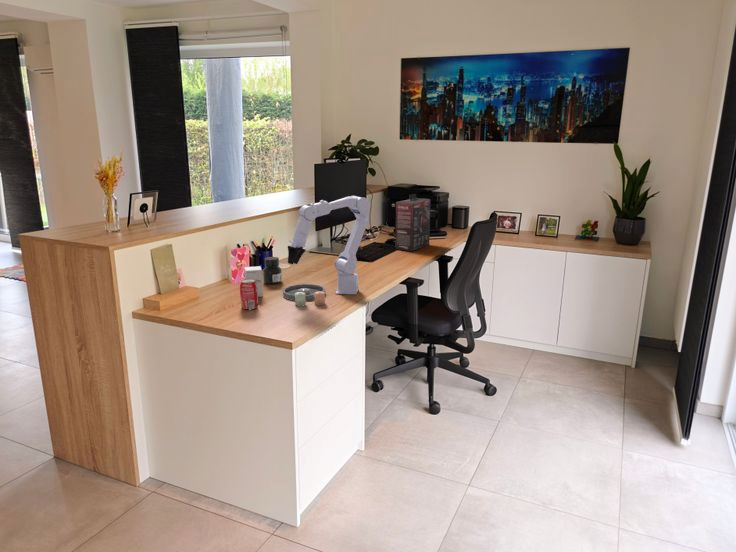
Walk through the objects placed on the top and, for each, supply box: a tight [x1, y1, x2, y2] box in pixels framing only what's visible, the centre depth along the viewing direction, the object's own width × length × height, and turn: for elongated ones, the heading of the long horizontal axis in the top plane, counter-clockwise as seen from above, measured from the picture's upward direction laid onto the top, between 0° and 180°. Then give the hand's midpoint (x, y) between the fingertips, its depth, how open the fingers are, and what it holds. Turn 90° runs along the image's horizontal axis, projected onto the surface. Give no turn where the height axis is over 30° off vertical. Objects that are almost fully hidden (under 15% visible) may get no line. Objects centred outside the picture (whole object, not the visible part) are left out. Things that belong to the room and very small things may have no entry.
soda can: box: [239, 278, 259, 310], centre depth 230 cm, size 7×7×12 cm
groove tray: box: [282, 283, 326, 301], centre depth 250 cm, size 19×19×2 cm
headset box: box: [394, 193, 431, 252], centre depth 344 cm, size 25×12×33 cm, turn 148°
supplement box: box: [243, 265, 264, 298], centre depth 248 cm, size 7×7×13 cm
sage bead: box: [294, 292, 306, 307], centre depth 235 cm, size 4×4×5 cm
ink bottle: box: [262, 256, 283, 285], centre depth 269 cm, size 10×9×12 cm
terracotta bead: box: [314, 291, 326, 306], centre depth 236 cm, size 4×4×5 cm
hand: (292, 263), depth 236 cm, fingers open, 7 cm apart
